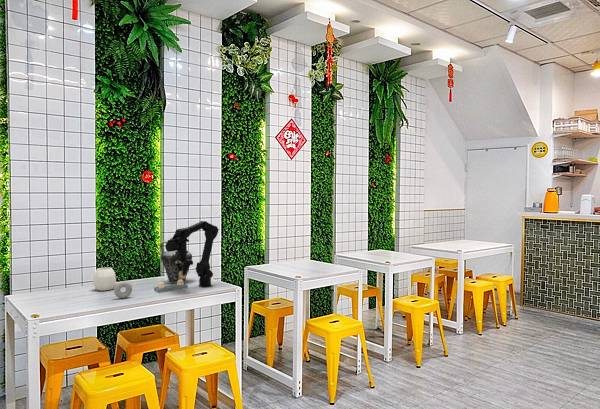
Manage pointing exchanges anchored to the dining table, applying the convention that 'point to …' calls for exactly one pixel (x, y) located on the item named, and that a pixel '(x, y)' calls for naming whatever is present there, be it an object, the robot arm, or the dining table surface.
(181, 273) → the egg
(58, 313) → the dining table surface
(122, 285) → the grey ring
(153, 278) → the dining table surface
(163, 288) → the carton
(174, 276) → the jug
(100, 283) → the cream rounded canister
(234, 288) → the dining table surface
